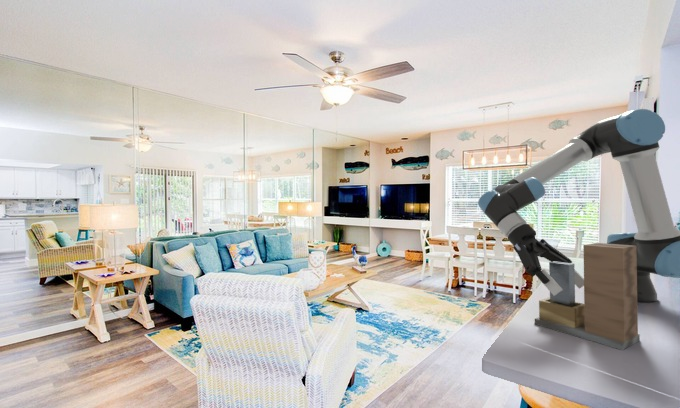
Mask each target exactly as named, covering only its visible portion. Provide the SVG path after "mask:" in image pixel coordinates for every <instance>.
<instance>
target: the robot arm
mask: <svg viewBox="0 0 680 408" xmlns="http://www.w3.org/2000/svg"><path fill="white" fill-rule="evenodd" d="M665 132H666V125H665V121H664V120H663V118H662V117H661V116H660V114H658V113H656V112H654V111H652V110H651V109H646V108H638V109H633V110H628V111H625V112H622V113H620V114H617V115H614V116H612V117H608V118H605V119H603V120H600V121H598V122H596V123H594V124H592V125H591V126H590V127H588V128H586V129H585V130H583V131H582V132H581V133H579V134H578V135H576V136H575V137H573V138H571V139H570V140H569V141H568V144H567V145H565V146H563V147H562V148H560V149H559V150H557V151H556V152H554V153H552V154H551V155H549V156H547V157H546V158H544V159H542V160H541V161H539V162H538V163H536V164H534V165H533V166H531V167H529V168H528V169H526V170H524V171H522V172H521V173H519V174H518V175H516V176H515V177H513V178H511V179H510V180H508V181H506V182H505V183H503V184H500V185H497V186H495V187H493V188H492V189H491V190H488V191H486V192H485V193H483V194H482V195H481V196H480V197H479V199H478V201H477V205H478V207H479V208H480V210H481V211H482V212H483V214H484V215H486V217H487V218H488V219H489V220H490V221H491V222H492V223H493V225H495V226H496V228H497V229H498V230H499V231H500V233H501V234H503V235H504V237H506V238H507V241H509V243H510V244H511V245H512V246H513V247H512V248H513V250H514V251H515V252H516V254H517V256H518V258H519V260H520V262H521V264H522V266H523V268H524V270H525V272H526V273H527V274H528V275H530V276H531V277H535V276H536V277H537V279H538V280H539V281H540V282H541V283H542V284H543V285H544V286H545V288H546V289H547V290H548V291H549V293H550V292H551V293H552V294H553V295H554V296H555V295H557V294H558V293H559V292H561V291H562V290H563V289H562V288H561V287H560V286H559V285H558V284H557V282H556V281H555V280H554V279H553V278H552V277H551V276H550V273H549V272H548V271H547V270H546V269H542V266H541V263H540V259H539V257H540V258H544V259H546V260H547V261H549V262H553V261H557V262H565V263H573V261H572V260H571V259H570V258H569V257H568V256H566V255H565V254H563V253H562V252H560V250H558V249H557V248H555V247H553V246H552V245H551V244H550V243H548V242H547V241H546V240H545V239H544V238H542V239H540V240H538V239H537V238H536V235H537V232H536V230H535V229H534V228H533V227H532V226H531V225H530V224H529V223H527V220H526V219H524V218H523V217H522V216H521V215H520V214H519V213H518V211H519V210H520V211H521V209H523V208H525V207H527V206H529V205H530V204H531V205H532V203H534V202H537V201H538V200H539V199H541V198H543V197H544V196H545V195H546V189H545V186H544V185H545V184H547V183H549V182H550V181H552V180H553V179H555V178H556V177H558V176H560V175H562V174H563V173H565V172H567V171H569V170H570V169H571V168H573V167H574V166H576V165H578V164H580V163H581V162H588V161H590V160H592V159H593V158H595V157H598V156H601V155H605V154H608V153H610V155H611V157H612V159H613V160H615V161H617V162H619V165H620V169H621V172H622V175H623V179H624V183H625V187H626V189H627V193H628V198H629V202H630V206H631V209H632V212H633V216H634V220H635V224H636V227H637V230H638V231H637V232H625V233H623V232H621V233H610V234H608V235H607V239H606V244H619V245H632V246H636V251H637V303H638V302H641V303H642V302H643V303H651V302H657V301H658V293H657V290H656V287H655V285H654V284H653V283H654V282H653V281H652V279H651V274H653V275H659V276H661V277H664V278H673V279H679V278H680V229H678V228H676V227H675V225H674V221H673V217H672V213H671V209H670V207H669V203H668V198H667V195H666V192H665V188H664V185H663V184H664V183H663V180H662V177H661V174H660V169H659V165H658V162H657V159H656V153H657V151H658V150H659V149H660V144H659V141H661V140H662V138H663V137H664V134H665ZM574 270H575V287H577V288H578V289H582V288H584V276H582V275H581V274H580V273H579V272H578V271H577V270H576V269H575V268H574Z"/></svg>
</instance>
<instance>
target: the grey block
mask: <svg viewBox="0 0 680 408" xmlns="http://www.w3.org/2000/svg"><path fill="white" fill-rule="evenodd" d="M548 267H549V269H548V271H549V272H548V274H549V275H550V276H551V277H552V278H553V279H554V280H555V281H556V282H557V284H558V285H559V286H560V287H561V288H562V289H563V290H562V291H561V292H559V293H558V294H557V295H555V296H554V295H553V294H552V293H551V292H550V291H549V298H550V302H551V303H556V304H560V305H564V306H569V307H574V306H575V302H576V289H575V288H576V285H575V270H576V269H575V263H573V262H572V263H565V262H557V261H553V262H551V261H549V266H548ZM574 269H575V270H574Z"/></svg>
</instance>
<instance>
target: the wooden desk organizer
mask: <svg viewBox="0 0 680 408" xmlns="http://www.w3.org/2000/svg"><path fill="white" fill-rule="evenodd" d="M582 249H583V278H584V286H583V294H584V295H583V298H584V299H583V300H584V301H583V302H584V303H581V302H577V301H575V306H574V307H569V306H564V305H560V304H556V303H551V302H550V297H547V298H544V299H539V300H538V311H539V312H538V313H539V314H538V315H539V316H538V317H536V318H534V324H535V325H538V326H540V327H544V328H546V329H551V330H554V331H557V332H561V333H565V334H567V335H570V336H574V337H578V338H581V339H583V340H588V341H589V342H590V341H591V342H593V343H598V344H601V345H604V346H607V347H611V348H615V349H617V350H621V351H624V350H625V349H627V348H629V347H631V346H632V345H634V344H636V343H639V342H640V341H641V339H640V336H641V335H640V334H639V327H638V326H639V323H638V321H639V320H638V319H639V317H638V316H639V315H638V312H639V311H638V302H637V251H636V246H632V245H619V244H607V242H606V243H603V242H594V243H587V244H583V248H582Z"/></svg>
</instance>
